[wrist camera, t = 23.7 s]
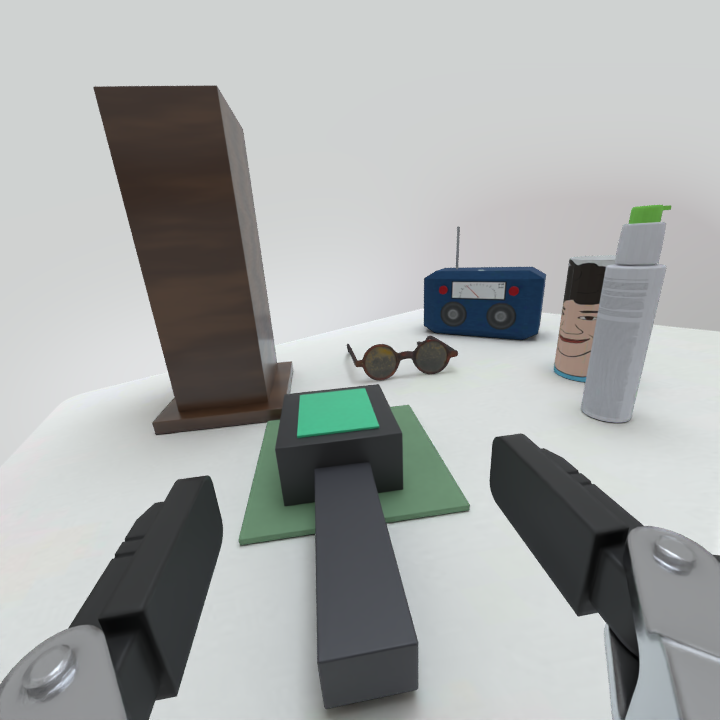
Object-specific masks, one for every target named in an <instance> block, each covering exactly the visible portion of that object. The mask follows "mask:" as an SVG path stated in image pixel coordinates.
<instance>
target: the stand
mask: <svg viewBox="0 0 720 720" xmlns="http://www.w3.org/2000/svg"><path fill="white" fill-rule="evenodd" d="M94 91H95V95H96V99H97V103H98V107H99V111H100V114H101V118H102V122H103V125H104V130H105V133H106V137H107V141H108V145H109V148H110V152H111V156H112V160H113V164H114V167H115V172H116V175H117V179H118V183H119V187H120V191H121V194H122V198H123V202H124V206H125V209H126V213H127V217H128V221H129V225H130V228H131V232H132V236H133V240H134V244H135V248H136V252H137V255H138V259H139V263H140V267H141V271H142V274H143V278H144V282H145V285H146V290H147V293H148V297H149V301H150V305H151V309H152V312H153V316H154V320H155V324H156V328H157V332H158V335H159V339H160V343H161V347H162V350H163V354H164V358H165V362H166V365H167V370H168V373H169V377H170V381H171V385H172V389H173V392H174V396H175V398H174V399H173V400H172V401H171V402H170V403H169V405H168V406H167V407H166V408H165V409H164V410H163V411H162V412H161V414H160V415H159V416H158V417H157V418H156V419H155V420H154V421H153V423H152V424H153V427H154V430H155V434H156V435H157V434H165V433H174V432H183V431H191V430H200V429H209V428H217V427H226V426H235V425H243V424H252V423H261V422H268V421H273V420H280V417H281V411H282V406H283V400H284V395H285V394H290V388H291V381H292V374H293V366H292V362H281V363H277V359H276V352H275V345H274V339H273V331H272V325H271V318H270V311H269V304H268V297H267V290H266V284H265V277H264V270H263V264H262V256H261V250H260V243H259V236H258V229H257V222H256V215H255V208H254V202H253V195H252V188H251V181H250V174H249V168H248V161H247V155H246V147H245V140H244V133H243V129H242V127H241V125H240V124H239V122H238V120H237V119H236V117H235V116H234V114H233V112H232V110H231V109H230V107H229V105H228V104H227V102H226V100H225V99H224V97H223V95H222V94H221V92H220V90H219V89H218V87H217V86H118V87H116V86H115V87H94Z"/></svg>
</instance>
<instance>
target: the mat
mask: <svg viewBox="0 0 720 720" xmlns="http://www.w3.org/2000/svg"><path fill="white" fill-rule="evenodd" d="M390 408H391V411H392V413H393V415H394V417H395V419H396V421H397V423H398V425H399V427H400V429H401V431H402V436H403V490H396V491H389V492H382V493H378V495H379V499H380V503H381V506H382V510H383V514H384V517H385V521H386V523H389V522H395V521H402V520H408V519H415V518H421V517H428V516H434V515H441V514H448V513H454V512H461V511H467V510H469V507H470V505H469V503H468V501H467V500H466V498H465V496H464V495H463V493H462V492H461V490H460V488H459V487H458V485H457V483H456V482H455V480H454V478H453V477H452V475H451V473H450V472H449V470H448V468H447V467H446V465H445V463H444V462H443V460H442V459H441V457H440V455H439V454H438V452H437V450H436V449H435V447H434V445H433V444H432V442H431V440H430V439H429V437H428V435H427V434H426V432H425V430H424V429H423V427H422V426H421V424H420V422H419V421H418V419H417V417H416V416H415V414H414V412H413V411H412V409H411V407H410V406H409V405H403V406H395V407H390ZM279 423H280V420H273V421H268V422H267V426H266V430H265V434H264V438H263V443H262V447H261V451H260V455H259V459H258V463H257V467H256V471H255V475H254V479H253V483H252V488H251V492H250V496H249V500H248V504H247V508H246V512H245V516H244V520H243V524H242V528H241V532H240V537H239V543H240V545H245V544H251V543H258V542H264V541H271V540H277V539H284V538H291V537H297V536H304V535H310V534H315V502H313V503H306V504H299V505H292V506H284V502H283V495H282V489H281V483H280V477H279V471H278V465H277V459H276V453H275V446H276V440H277V434H278V429H279Z"/></svg>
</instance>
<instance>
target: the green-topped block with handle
mask: <svg viewBox="0 0 720 720" xmlns="http://www.w3.org/2000/svg"><path fill="white" fill-rule="evenodd" d="M275 453H276V459H277V465H278V471H279V477H280V483H281V489H282V495H283V502H284V506H292V505H299V504H306V503H313V502H315V540H316V603H317V663H318V669H319V676H320V682H321V689H322V696H323V702H324V707H325V709H328V708H333V707H338V706H342V705H347V704H352V703H357V702H361V701H366V700H371V699H376V698H380V697H385V696H390V695H395V694H399V693H404V692H409V691H414V690H417V689H418V640H417V636H416V633H415V629H414V625H413V621H412V618H411V614H410V610H409V607H408V603H407V599H406V595H405V592H404V588H403V584H402V581H401V577H400V573H399V569H398V566H397V562H396V558H395V555H394V551H393V547H392V543H391V540H390V536H389V532H388V529H387V525H386V521H385V517H384V514H383V510H382V506H381V503H380V499H379V495H378V493H382V492H389V491H396V490H403V436H402V431H401V429H400V427H399V425H398V423H397V421H396V419H395V417H394V415H393V413H392V411H391V408H390V406H389V404H388V402H387V400H386V398H385V396H384V394H383V392H382V390H381V388H380V386H379V384H377V385H368V386H358V387H349V388H340V389H330V390H321V391H312V392H303V393H293V394H285V395H284V400H283V406H282V411H281V417H280V423H279V429H278V434H277V440H276V446H275Z"/></svg>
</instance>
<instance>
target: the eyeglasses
mask: <svg viewBox="0 0 720 720" xmlns="http://www.w3.org/2000/svg"><path fill="white" fill-rule="evenodd" d="M417 344H418V346H417V348H416V349H415V350H414V351H413V352H411V351H405V352H401V353H396V352H395V351H394V350H393V349H392V348H391V347H390V346H388V345H385V344H378V345H374V346H372V347H371V348H369V349H368V350H367V351H366V353H365V354H364V357H363V359H362V360H359V361H357V359H356V357H355V355H354V353H353V351H352V348H351V347H350V345H349V344H347V349H348V352H350V354H351V357H352V359H353V361H354V364H355V366H356V367H363V369H364V371H365V373H366V374H367V375H368V376H369V377H370V378H372V379H374V380H384V379H387V378H389V377H391V376H392V375H393V374H394V373H395V372H396V370H397V368H398V366H399V363H400V361H401V360H403V359H408V358H411V359H412V360H413V362H414V364H415V366H416V367H417V368H418V369H419V370H420V371H421V372H423V373H426V374H435V373H438V372H440V371H442V370H443V369H444V368H445V367H446V366H447V364H448V362H449V360H450V358H451V357H456V356H457V355H458V351H456V350H454V349H453V348H451V347H450V346H448V345H446V344H445V343H443V342H442V341H440V340H438V339H437V338H435V337H433V336H428V337H427V338H426V340H425V341H423V342H417Z"/></svg>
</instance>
